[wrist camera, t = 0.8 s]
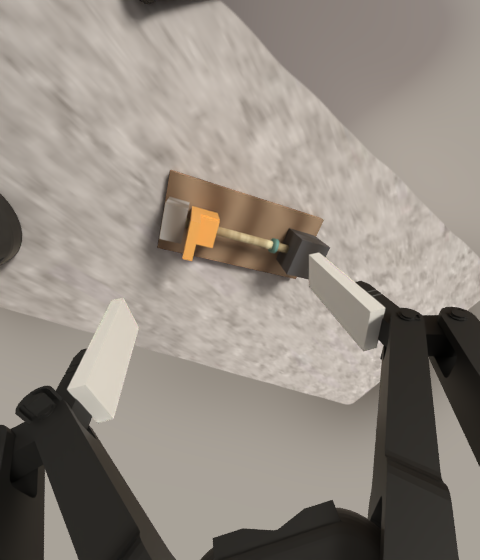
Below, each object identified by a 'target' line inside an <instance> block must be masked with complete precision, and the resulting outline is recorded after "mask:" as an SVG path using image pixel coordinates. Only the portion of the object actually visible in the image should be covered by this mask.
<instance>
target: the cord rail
mask: <svg viewBox="0 0 480 560" xmlns="http://www.w3.org/2000/svg"><path fill="white" fill-rule="evenodd" d="M192 206H194V207H198V208H201V209H205V210H208V211H212V212H215V213H218V216H219V219H220V220H219V222H220V223H219V226H218V230H217V234H216V237H215V241H214V244H213V248H210V247H206V246H201V245H197V244H196V247H195V251H194V255H193V256H196V257H201V258H205V259H210V260H214V261H218V262H223V263H227V264H232V265H236V266H241V267H245V268H249V269H254V270H258V271H263V272H267V273H271V274H276V275H280V276H285V277H289V278H294V279H296V277H301V278H305V279H309V255H310V254H315V253H320V254H322V255H323V256H324V257H326V255H327V253H328V251H329V249H330V247H329V246H327V245H326V244H325V243H323V242H322V241H321V240H319V239H318V238H317V237H316V235H317V233H318V231H319V229H320V227H321V225H322V223H323V221H324V220H323V219H321V218H319V217H316V216H313V215H310V214H307V213H304V212H301V211H298V210H295V209H291V208H288V207H285V206H282V205H279V204H276V203H273V202H270V201H267V200H263V199H260V198H257V197H254V196H251V195H248V194H245V193H242V192H239V191H235V190H232V189H229V188H226V187H223V186H220V185H217V184H214V183H211V182H207V181H204V180H201V179H198V178H195V177H192V176H189V175H186V174H183V173H179V172H176V171H173V170H170V174H169V180H168V186H167V192H166V198H165V204H164V210H163V216H162V222H161V228H160V234H159V240H158V246H157V248H161V249H165V250H170V251H174V252H179V253H183V252H184V245H185V239H186V233H187V228H188V226H189V221H190V215H191V210H192Z"/></svg>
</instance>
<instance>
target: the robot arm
mask: <svg viewBox="0 0 480 560" xmlns="http://www.w3.org/2000/svg"><path fill="white" fill-rule="evenodd" d="M21 241H22V231H21V226H20V223H19V220H18V217H17V215H16V213H15V212H14V210H13V208H12V207H11V206H10V204H9V203H8V202H7V200H6V199H5V198H4V197H3V196H2V195H1V194H0V265H1V264H3V263H5V262H6V261H8V260H10V259H11V258H12V257H13V256H14V255H15V254H16V253H17V252H18V250H19V248H20V245H21ZM309 287H310V288H311V290H312V291H313V292H314V293H315V294H316V296H317V297H318V298H319V299H320V300H321V302H322V303H323V304H324V305H325V306H326V308H327V309H328V310H329V311H330V312H331V313H332V315H333V316H334V317H335V318H336V319H337V321H338V322H339V323H340V324H341V325H342V327H343V328H344V329H345V330H346V331H347V333H348V334H349V335H350V336H351V337H352V338H353V340H354V341H355V342H356V343H357V344H358V346H359V347H360V348H361V349H362V350H363V351H366V350H370V349H374V348H377V344H378V340H379V341H380V342H381V343H382V344H383V345H384V346H383V350H382V354H381V358H380V359H382V365H381V377H380V390H379V404H378V416H377V429H376V442H375V455H374V467H373V481H372V490H371V496H370V502H369V510H368V519H367V518H365V517H363V516H361V515H360V514H358V513H356V512H353V511H350V510H347V509H343V508H335V505H334V503H333V500H330V501H327V502H324V503H321V504H318V505H315V506H312V507H309V508H305V509H303V510H302V511H301V512H300V513H298V514H297V515H296V516H294V517H293V518H292V519H291V520H289V521H288V522H287V523H286V524H284V525H283V526H282V527H281V528H279V529H278V530H274V531H273V530H257V529H240V530H237V531H234V532H231V533H228V534H224V535H221V536H218V537H215V538H213V548H212V549H211V550H209V551H208V552H207V553H206V554H205V555H204V556H203V557H202V559H201V560H459V557H458V550H457V543H456V542H457V541H456V534H455V526H454V518H453V510H452V502H451V497H450V492H449V489H448V487H447V485H446V484H445V483H444V482H443V481H442V478H441V473H440V464H439V453H438V444H437V435H436V425H435V416H434V407H433V397H432V389H431V378H430V370H429V369H430V368H429V359H430V361H431V363H432V365H433V368H434V370H435V372H436V374H437V376H438V378H439V381H440V382H441V385H442V387H443V389H444V391H445V393H446V396H447V398H448V400H449V402H450V404H451V406H452V408H453V411H454V413H455V415H456V417H457V419H458V421H459V423H460V426H461V428H462V430H463V432H464V434H465V436H466V438H467V440H468V443H469V445H470V447H471V449H472V451H473V453H474V455H475V457H476V460H477V462H478V464H479V466H480V321H479V320H478V319H477V318H476V316H475V315H473V314H472V313H470V312H469V311H467V310H464V309H461V308H457V307H445V308H442V309H441V311H440V313H439V315H421V314H420V313H419V312H417V311H415V310H412V309H408V308H399V307H398V306H397V305H395V304H394V303H393V302H392V301H390V300H389V299H388V298H386V297H385V296H384V295H383V294H381V293H380V292H379V291H377V290H376V289H375V288H374V287H372V286H371V285H370V284H367V283H365V282H362V281H358V282H354V281H353V280H352V279H350V278H349V277H348V276H347V275H346V274H344V273H343V272H342V271H341V270H340V269H338V268H337V267H336V266H335V265H334V264H332V263H331V262H330V261H329V260H328V259H326V258H325V257H324V256H323V255H322V254H320V253H315V254H310V255H309ZM138 329H139V327H138V325H137V323H136V321H135V319H134V317H133V315H132V314H131V312H130V310H129V308H128V306H127V304H126V302H125V300H124V298H120V299H115V300H111V302H110V304H109V306H108V308H107V310H106V312H105V314H104V316H103V318H102V320H101V322H100V324H99V326H98V328H97V330H96V332H95V334H94V337H93V338H92V341H91V342H90V344H89V346H88V348H87V349H83V350H81V351H80V352H79V353H78V354H77V355H76V356H75V357H74V358H73V360H72V362H71V364H70V366H69V368H68V369H67V371H66V374H65V375H64V377H63V379H62V380H61V382H60V384H59V386H58V388H57V390H56V391H55V390H54V389H53V388H52V387H51V386H43V387H40V388H38V389H36V390H34V391H32V392H31V393H30V394H28V395H27V396H26V397H24V398H23V400H22V401H21V402H20V403H19V404H18V406H17V408H16V413H15V414H16V415H18V416H19V417H20V418H21V419H22V420H24V421H25V422H24V423H22V424H20V425H18V426H16V427H14V428H12V429H9V428H8V427H6V426H4V425H0V560H44V492H45V490H44V489H45V470H46V473H47V475H48V478H49V481H50V483H51V486H52V489H53V491H54V494H55V497H56V500H57V502H58V505H59V508H60V510H61V513H62V516H63V518H64V521H65V524H66V527H67V529H68V532H69V535H70V537H71V540H72V543H73V545H74V548H75V551H76V554H77V556H78V559H79V560H176V559H175V558H174V557H173V555H172V554H171V553H170V551H169V550H168V548H167V547H166V545H165V544H164V542H163V540H162V539H161V537H160V536H159V534H158V532H157V531H156V529H155V528H154V526H153V524H152V523H151V521H150V520H149V518H148V517H147V515H146V513H145V512H144V510H143V509H142V507H141V505H140V504H139V502H138V501H137V500H136V497H135V496H134V494H133V493H132V491H131V490H130V488H129V486H128V485H127V483H126V482H125V480H124V479H123V477H122V475H121V474H120V472H119V471H118V469H117V467H116V466H115V464H114V463H113V461H112V459H111V458H110V456H109V455H108V453H107V452H106V450H105V448H104V447H103V445H102V444H101V442H100V440H99V439H98V437H97V436H96V434H95V433H94V431H93V429H92V428H91V427H90V426H89V423H90V421H91V418H92V417H93V419H94V420H95V421H96V422H97V423H100V422H104V421H108V420H111V419H114V416H115V412H116V409H117V405H118V401H119V398H120V394H121V391H122V387H123V383H124V380H125V376H126V373H127V369H128V365H129V362H130V358H131V355H132V351H133V347H134V344H135V340H136V336H137V333H138ZM428 357H429V359H428Z"/></svg>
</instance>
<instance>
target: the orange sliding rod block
mask: <svg viewBox="0 0 480 560" xmlns="http://www.w3.org/2000/svg"><path fill="white" fill-rule="evenodd" d="M219 220H220V219H219V216H218V213H215V212H212V211H208V210H205V209H201V208H198V207H194V206H192V210H191V215H190V221H189V226H188V228H187V233H186V239H185V245H184V252H183V258H182V259H185V260H189V261H192V259H193V255H194V251H195V247H196V244H197V245H201V246H206V247H210V248H213V244H214V241H215V237H216V234H217V230H218V226H219V223H220V222H219Z"/></svg>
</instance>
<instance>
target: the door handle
mask: <svg viewBox="0 0 480 560" xmlns="http://www.w3.org/2000/svg"><path fill="white" fill-rule="evenodd" d="M140 1H142V2H144V3H152V2H154V1H155V0H140Z"/></svg>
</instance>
